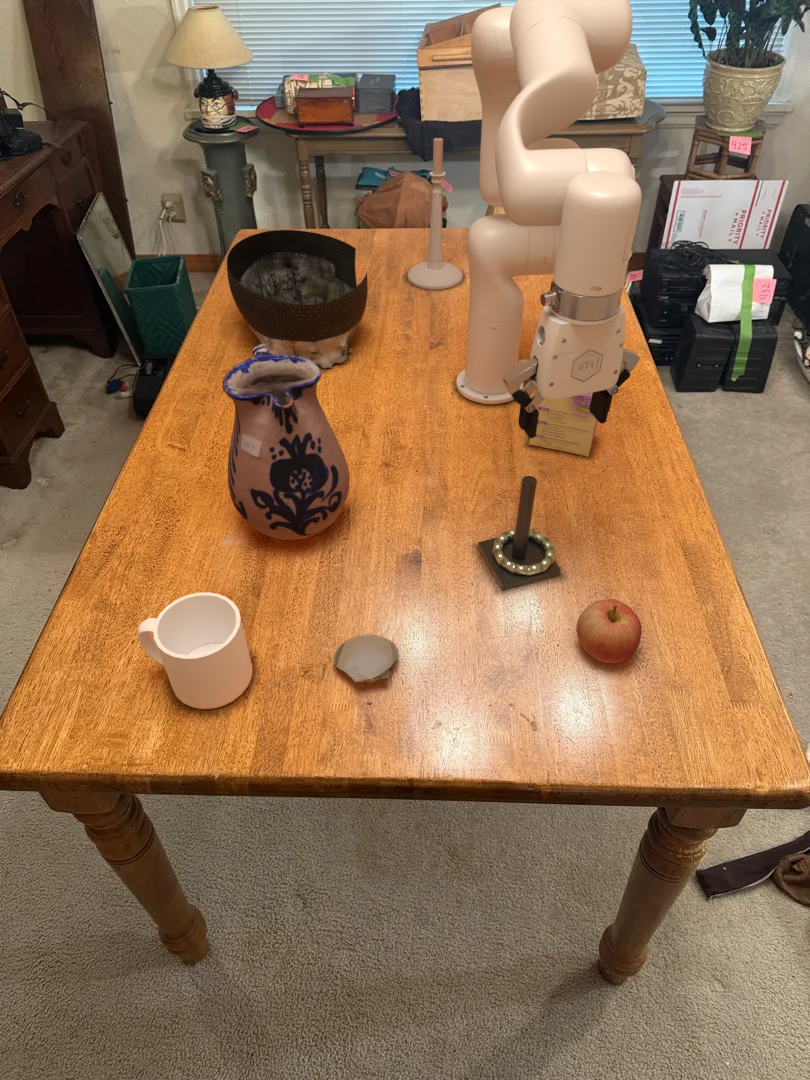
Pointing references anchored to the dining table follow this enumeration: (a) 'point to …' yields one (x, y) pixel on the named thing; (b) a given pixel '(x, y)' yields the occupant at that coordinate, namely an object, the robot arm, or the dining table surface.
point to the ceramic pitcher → (283, 448)
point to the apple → (609, 631)
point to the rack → (519, 545)
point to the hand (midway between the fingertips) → (562, 424)
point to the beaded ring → (521, 568)
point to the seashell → (366, 657)
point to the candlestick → (436, 237)
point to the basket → (298, 293)
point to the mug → (200, 649)
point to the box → (566, 425)
